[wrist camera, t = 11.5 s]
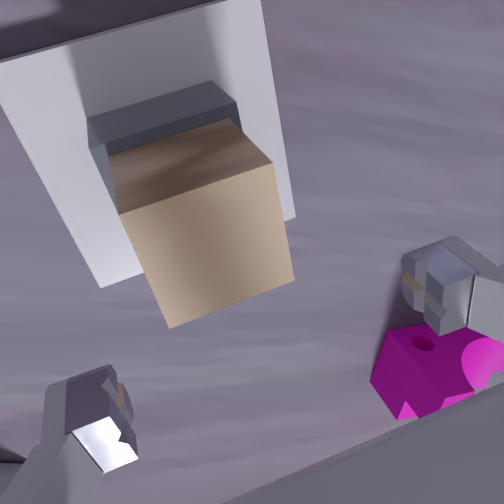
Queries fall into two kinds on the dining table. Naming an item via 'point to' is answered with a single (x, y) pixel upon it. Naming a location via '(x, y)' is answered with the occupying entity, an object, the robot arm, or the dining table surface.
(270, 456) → the dining table surface
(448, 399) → the toy block
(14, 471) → the flask
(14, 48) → the dining table surface
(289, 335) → the dining table surface
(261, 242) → the beech block
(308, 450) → the dining table surface
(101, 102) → the white platform base
